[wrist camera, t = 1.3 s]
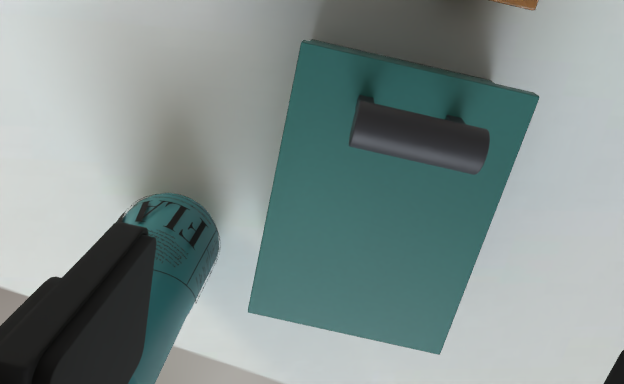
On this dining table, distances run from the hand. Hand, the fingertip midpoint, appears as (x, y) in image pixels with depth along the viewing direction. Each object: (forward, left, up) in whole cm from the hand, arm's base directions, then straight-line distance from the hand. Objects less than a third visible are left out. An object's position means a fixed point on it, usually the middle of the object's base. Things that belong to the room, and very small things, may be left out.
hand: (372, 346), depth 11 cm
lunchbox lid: (+4, 0, -16) cm, 16 cm away
